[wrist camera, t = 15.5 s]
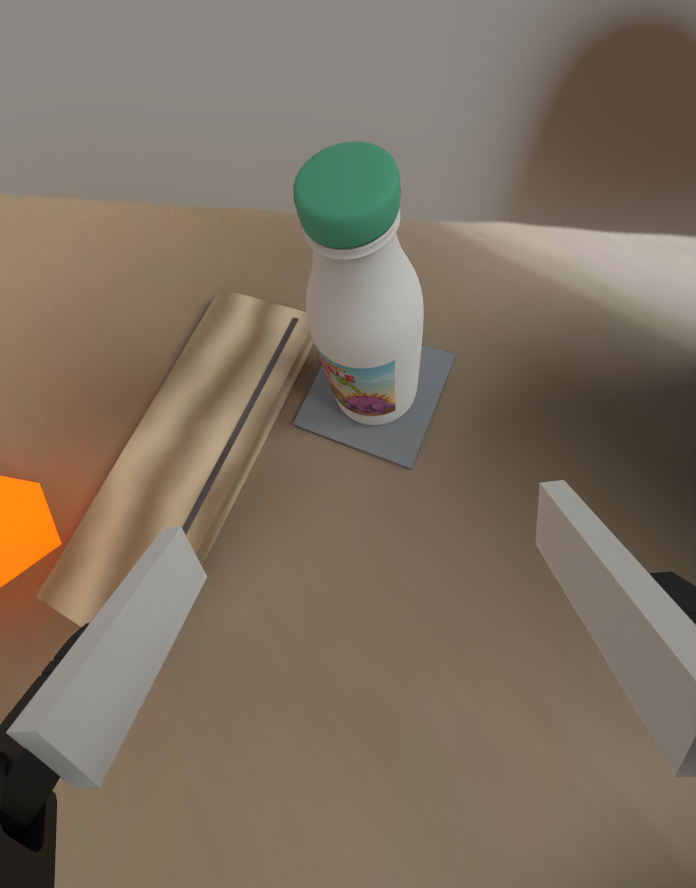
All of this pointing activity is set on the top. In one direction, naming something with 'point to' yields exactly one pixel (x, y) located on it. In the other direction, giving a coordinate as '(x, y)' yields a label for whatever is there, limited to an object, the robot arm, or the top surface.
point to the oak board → (186, 448)
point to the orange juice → (23, 527)
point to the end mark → (387, 439)
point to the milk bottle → (360, 281)
